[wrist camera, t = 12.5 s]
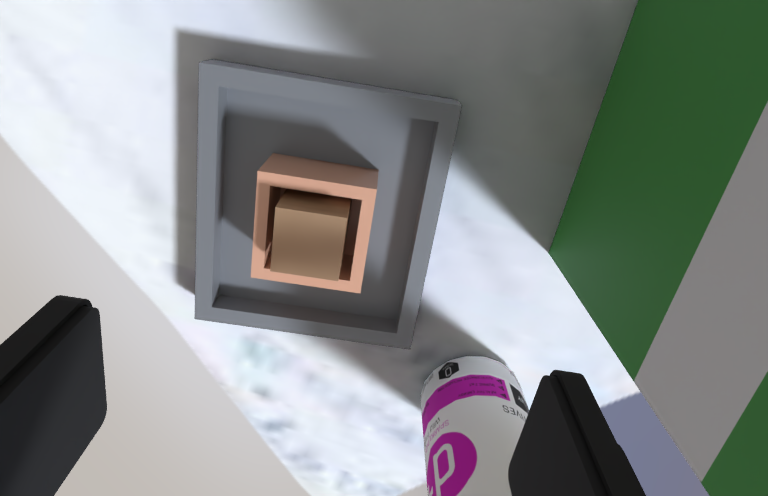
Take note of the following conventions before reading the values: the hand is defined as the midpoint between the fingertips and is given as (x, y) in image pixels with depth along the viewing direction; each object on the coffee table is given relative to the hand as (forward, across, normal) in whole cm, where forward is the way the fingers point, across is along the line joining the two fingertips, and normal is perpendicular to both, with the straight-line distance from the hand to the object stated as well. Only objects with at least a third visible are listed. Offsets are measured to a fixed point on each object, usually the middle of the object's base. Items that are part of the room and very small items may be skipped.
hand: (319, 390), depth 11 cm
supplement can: (+26, -12, +21) cm, 35 cm away
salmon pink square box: (+26, +2, +7) cm, 27 cm away
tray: (+26, +2, +7) cm, 27 cm away
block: (+25, +2, +7) cm, 26 cm away
